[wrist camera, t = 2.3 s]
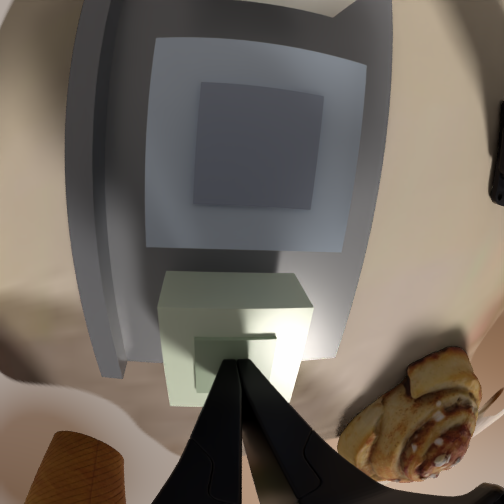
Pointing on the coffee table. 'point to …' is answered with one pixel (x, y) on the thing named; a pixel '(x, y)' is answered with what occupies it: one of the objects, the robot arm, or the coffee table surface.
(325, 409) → the coffee table surface
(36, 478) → the disposable coffee cup
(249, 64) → the key blue
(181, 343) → the key sage
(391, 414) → the pastry
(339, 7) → the key ivory
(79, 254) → the keypad
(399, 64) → the coffee table surface
